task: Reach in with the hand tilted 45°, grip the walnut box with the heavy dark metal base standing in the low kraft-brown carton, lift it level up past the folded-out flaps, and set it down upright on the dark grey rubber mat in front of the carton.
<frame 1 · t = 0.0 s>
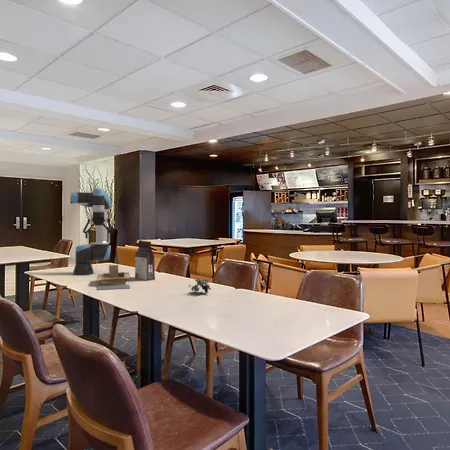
hand: (98, 243, 252), 28 cm above the table, tool pointing down, fingers open, 13 cm apart
passion flower: (200, 293, 224), on the table
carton: (113, 282, 259), on the table
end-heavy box: (113, 274, 259), in the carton
coffee bag: (144, 279, 275), on the table
mat: (113, 287, 240), on the table
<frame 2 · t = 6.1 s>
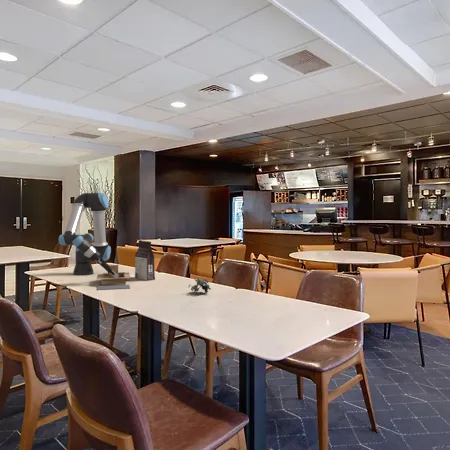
hand: (117, 276, 259), 4 cm above the table, tool tilted 45°, fingers closed on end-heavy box, 6 cm apart
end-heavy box: (113, 274, 259), in the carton, touching gripper
everything else where it was.
when the fingers open (6 cm above the table, at t = 14.6 s): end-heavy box drops 1 cm, resting on mat.
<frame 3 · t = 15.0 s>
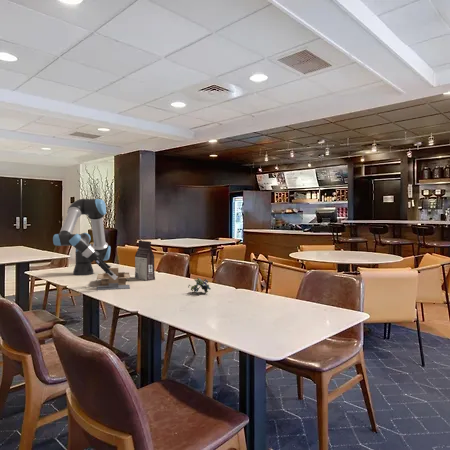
hand: (116, 277, 241), 7 cm above the table, tool tilted 45°, fingers open, 12 cm apart
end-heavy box: (113, 277, 240), on the mat
everything else where it was.
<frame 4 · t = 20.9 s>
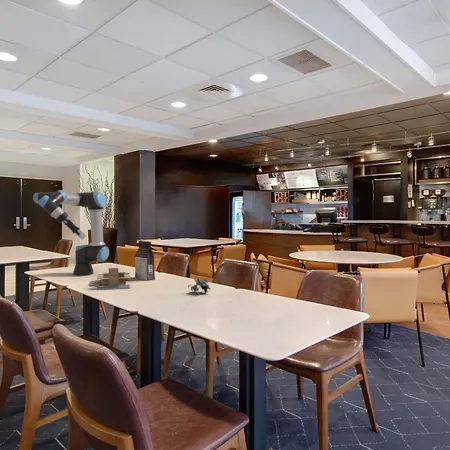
hand: (84, 237, 249), 32 cm above the table, tool tilted 45°, fingers open, 13 cm apart
nothing on the table moved.
at the end: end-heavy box inside the target area on the mat (0.1 cm from its centre), point 6.5 cm above the mat's base; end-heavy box tilted 0°; the gripper is holding nothing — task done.
